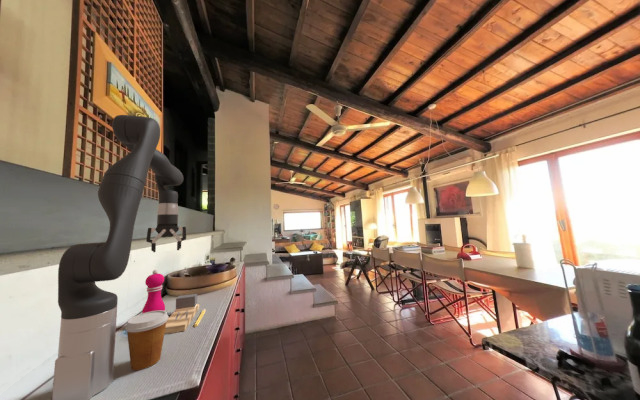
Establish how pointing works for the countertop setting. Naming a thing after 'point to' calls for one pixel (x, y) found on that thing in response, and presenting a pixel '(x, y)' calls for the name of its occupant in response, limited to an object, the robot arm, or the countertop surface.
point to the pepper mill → (154, 293)
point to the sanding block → (186, 302)
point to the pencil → (199, 318)
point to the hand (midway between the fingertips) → (166, 251)
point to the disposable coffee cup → (146, 338)
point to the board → (180, 320)
